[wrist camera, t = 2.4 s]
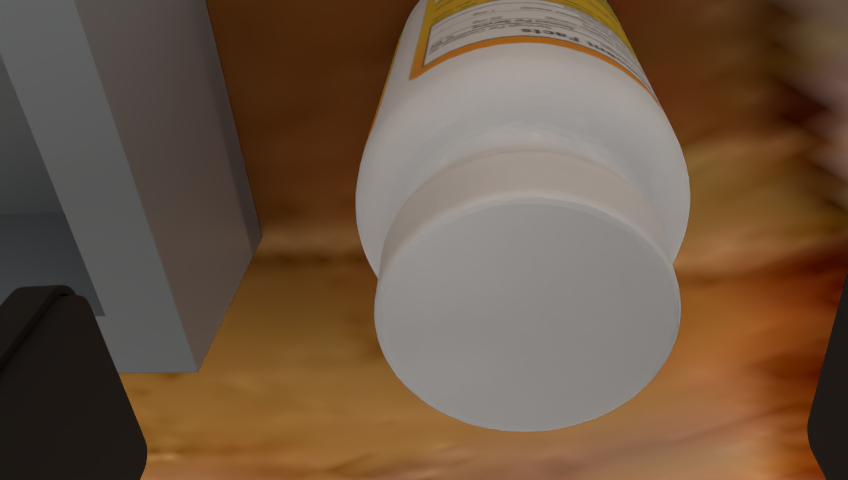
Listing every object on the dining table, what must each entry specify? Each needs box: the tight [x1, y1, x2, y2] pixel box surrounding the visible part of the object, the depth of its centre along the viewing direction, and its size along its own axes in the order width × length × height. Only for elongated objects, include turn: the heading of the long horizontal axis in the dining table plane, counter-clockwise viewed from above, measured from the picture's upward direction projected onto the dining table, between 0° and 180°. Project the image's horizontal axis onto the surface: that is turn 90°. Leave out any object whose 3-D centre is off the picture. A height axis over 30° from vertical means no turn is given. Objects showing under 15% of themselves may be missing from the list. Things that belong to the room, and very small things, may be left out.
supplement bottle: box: [356, 0, 690, 432], centre depth 14 cm, size 5×5×10 cm
